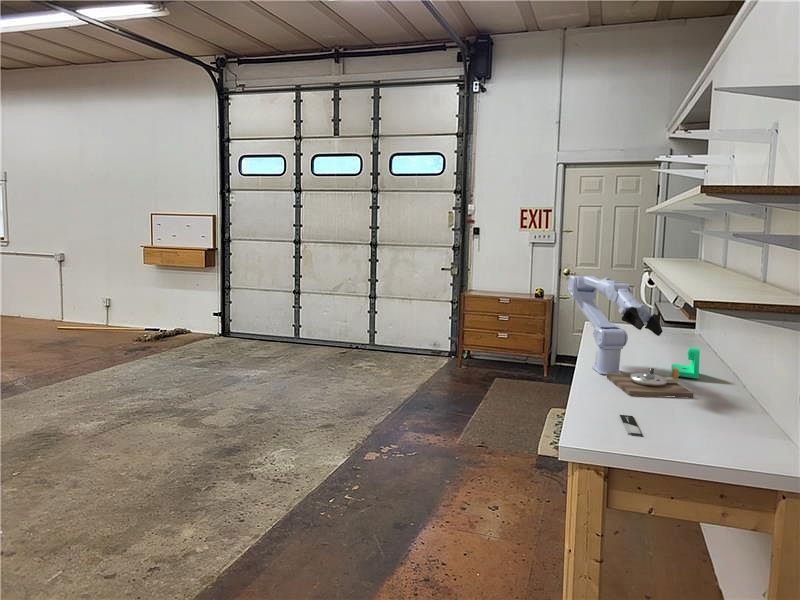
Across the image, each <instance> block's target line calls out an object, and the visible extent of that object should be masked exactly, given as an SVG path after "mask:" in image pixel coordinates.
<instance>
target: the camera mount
mask: <svg viewBox="0 0 800 600" xmlns="http://www.w3.org/2000/svg"><path fill="white" fill-rule="evenodd" d="M686 353H687V355H686V356H687V357H686V358H687V361H690V363H689V364H681V363H671V370H672V369H673V368H676V369H679V376H678V377H681V378H683V377H684V378H691V379H699V375H700V348H696V347H688V348H687V352H686Z"/></svg>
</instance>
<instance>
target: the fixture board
mask: <svg viewBox="0 0 800 600" xmlns="http://www.w3.org/2000/svg"><path fill="white" fill-rule="evenodd" d="M631 374H632V373H622V374H614V373H607V375H606V376H605V377H607V378H606V379H608V380H609V381H610V382H611V381H612V382H611V383H612V384H614V385H615V386H616V387H617V388H618V389H620V390H621V389H622V391H623V392H624V393H625V394H626V393H627V394H626V395H627V396H629V395H637V396H636V397H639V396H640V397H654V396H675V397H674V398H681V397H688V398H689V399H694V392H692V391H691V390H689V389H688V388H686V387H684V386H683V385H681V384H679V382H678V383H667V384H666V385H664V386H648V385H642V384H638V383H635V382H633V381H631V380H630V375H631ZM657 375H658V376H661V377H665V378H669V377H668V376H667V375H666V374H665V375H662V374H661V375H660V374H657ZM688 398H687V399H688Z"/></svg>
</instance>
